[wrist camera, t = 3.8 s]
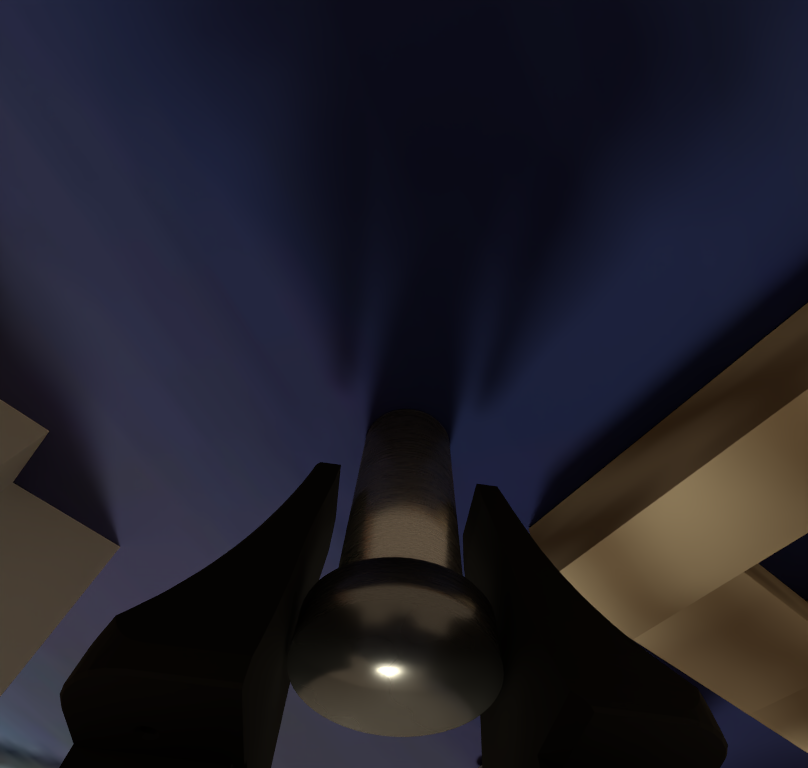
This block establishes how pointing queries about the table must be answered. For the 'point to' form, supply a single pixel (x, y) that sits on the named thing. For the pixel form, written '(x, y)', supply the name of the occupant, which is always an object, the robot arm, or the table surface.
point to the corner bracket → (36, 553)
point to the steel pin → (399, 599)
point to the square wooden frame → (707, 534)
